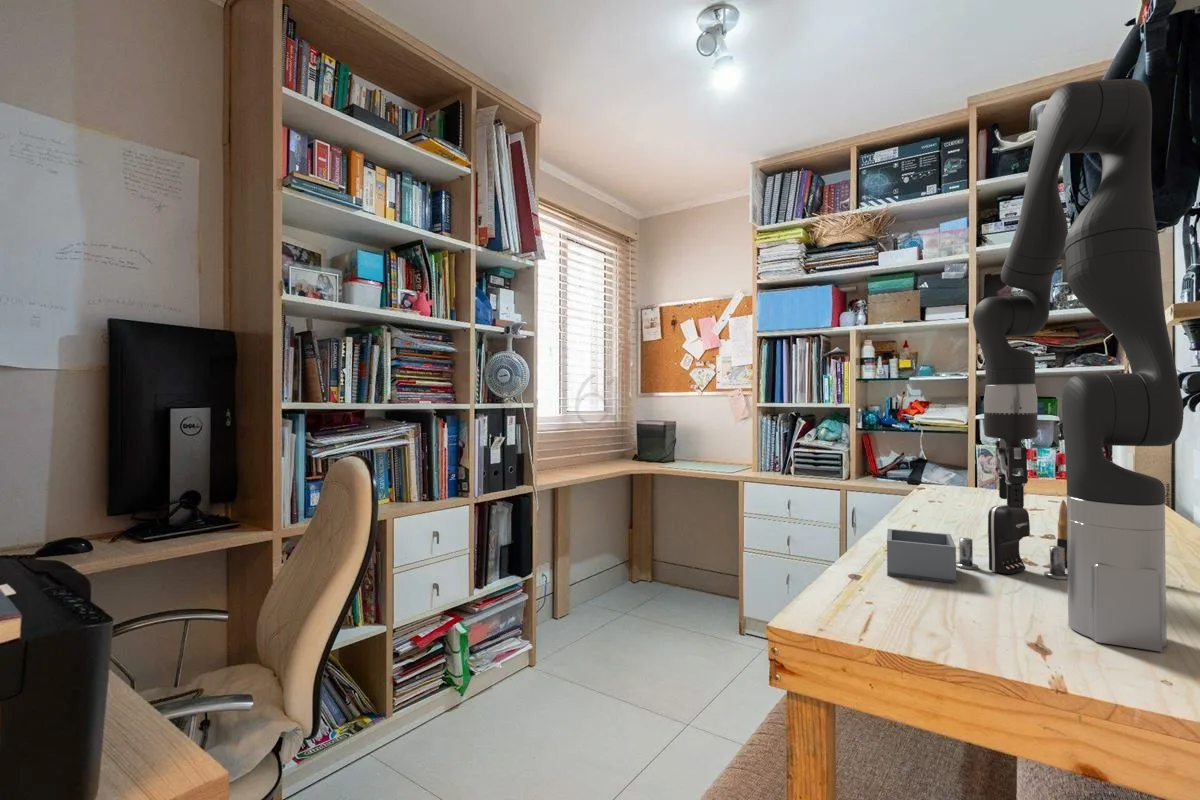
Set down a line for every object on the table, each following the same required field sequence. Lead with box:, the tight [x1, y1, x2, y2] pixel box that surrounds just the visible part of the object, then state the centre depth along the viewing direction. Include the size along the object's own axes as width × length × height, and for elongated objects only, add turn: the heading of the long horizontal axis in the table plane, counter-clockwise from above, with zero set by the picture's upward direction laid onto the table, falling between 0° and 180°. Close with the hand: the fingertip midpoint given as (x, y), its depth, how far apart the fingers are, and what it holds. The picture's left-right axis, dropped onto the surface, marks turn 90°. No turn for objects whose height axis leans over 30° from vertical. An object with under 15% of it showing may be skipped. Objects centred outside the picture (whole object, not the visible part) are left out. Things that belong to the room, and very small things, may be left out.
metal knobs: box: [956, 537, 1068, 581], centre depth 97 cm, size 4×17×5 cm, turn 62°
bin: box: [886, 528, 957, 584], centre depth 98 cm, size 10×10×6 cm
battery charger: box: [987, 504, 1031, 575], centre depth 97 cm, size 7×4×11 cm, turn 117°
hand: (1010, 503), depth 97 cm, fingers open, 8 cm apart
